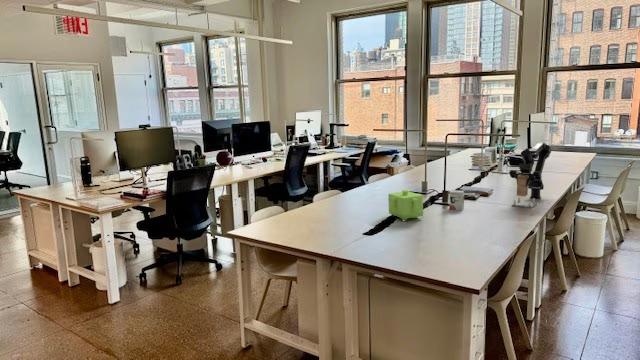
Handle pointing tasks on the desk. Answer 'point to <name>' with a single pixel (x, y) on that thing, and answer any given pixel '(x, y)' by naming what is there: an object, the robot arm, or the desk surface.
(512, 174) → the robot arm
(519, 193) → the walnut block
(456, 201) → the ink box
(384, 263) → the desk surface
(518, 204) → the peg plate
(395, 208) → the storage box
